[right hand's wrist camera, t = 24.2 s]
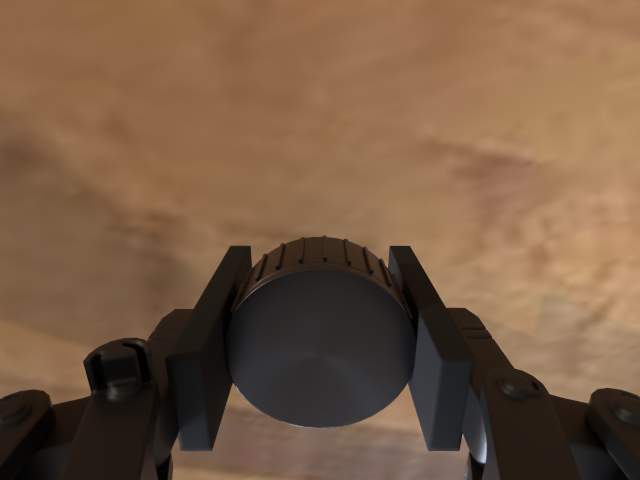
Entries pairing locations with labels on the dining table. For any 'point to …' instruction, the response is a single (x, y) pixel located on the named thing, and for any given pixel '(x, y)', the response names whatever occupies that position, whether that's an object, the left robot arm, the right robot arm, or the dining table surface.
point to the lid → (320, 334)
